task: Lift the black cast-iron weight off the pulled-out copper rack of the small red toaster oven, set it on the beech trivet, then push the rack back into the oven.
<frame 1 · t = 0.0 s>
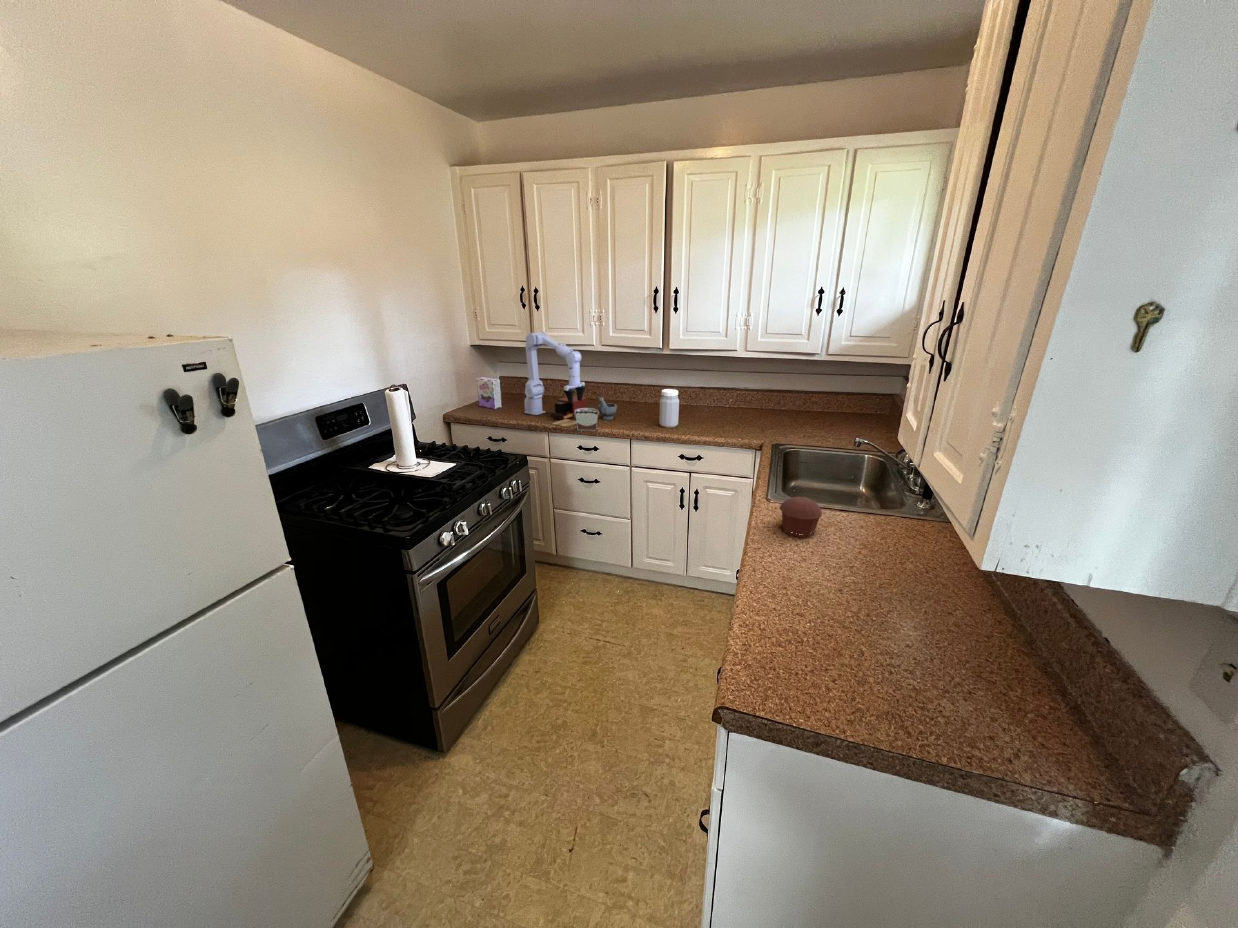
hand: (575, 401, 248), 10 cm above the worktop, tool pointing down, fingers open, 7 cm apart
black weight: (561, 415, 255), point 2 cm above the worktop, touching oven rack
toaster oven: (572, 414, 263), on the worktop
mortar and pestle: (606, 418, 256), on the worktop
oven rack: (562, 413, 256), point 2 cm above the worktop, slide at 7.0 cm, touching black weight
candy box: (490, 407, 279), on the worktop
trivet: (565, 423, 247), on the worktop
muffin: (797, 530, 142), on the worktop
jar: (668, 425, 244), on the worktop
food container: (588, 429, 238), on the worktop
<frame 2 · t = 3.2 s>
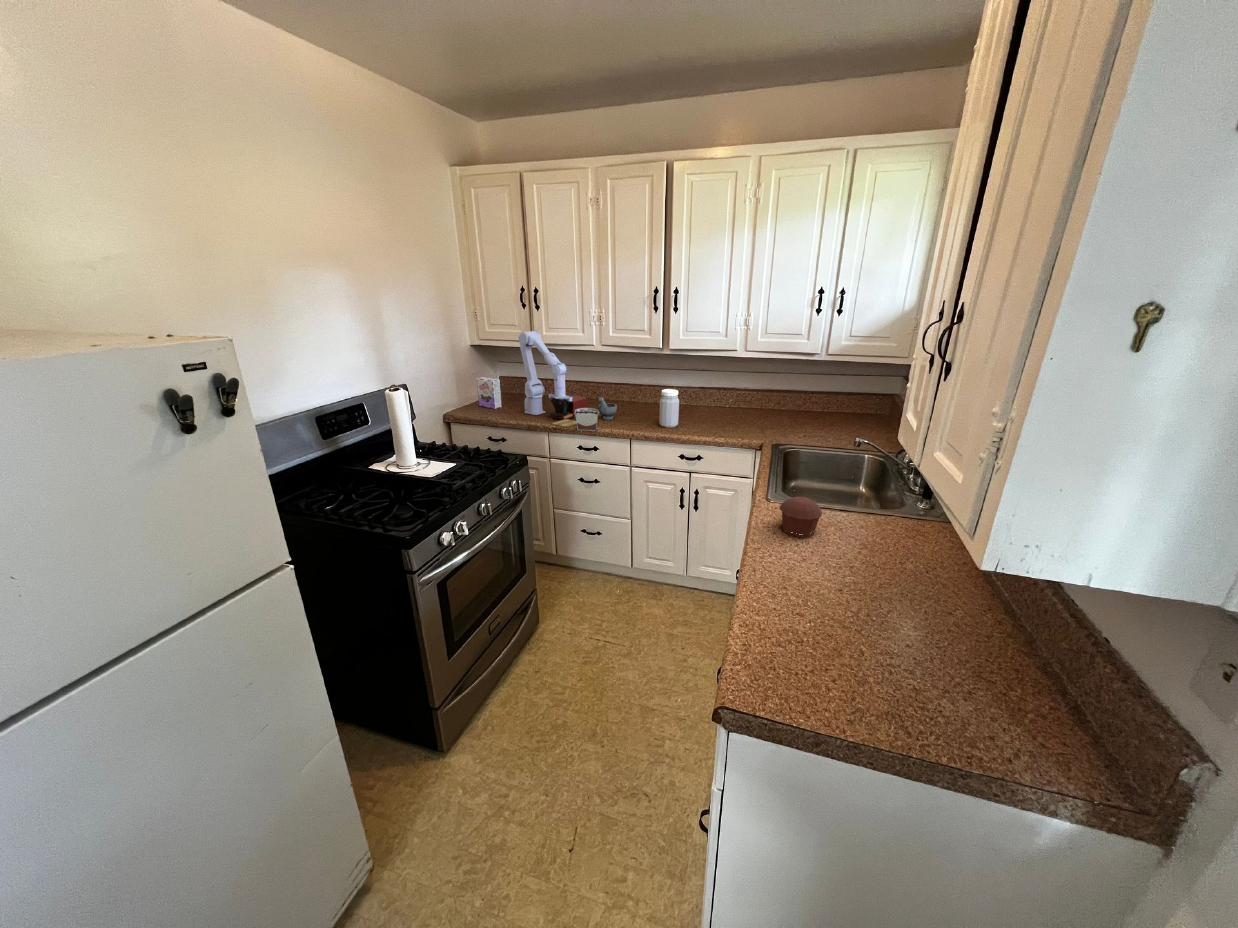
hand: (561, 412, 254), 3 cm above the worktop, tool pointing down, fingers closed on black weight, 4 cm apart
black weight: (561, 415, 255), point 2 cm above the worktop, touching gripper, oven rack
everything else where it was.
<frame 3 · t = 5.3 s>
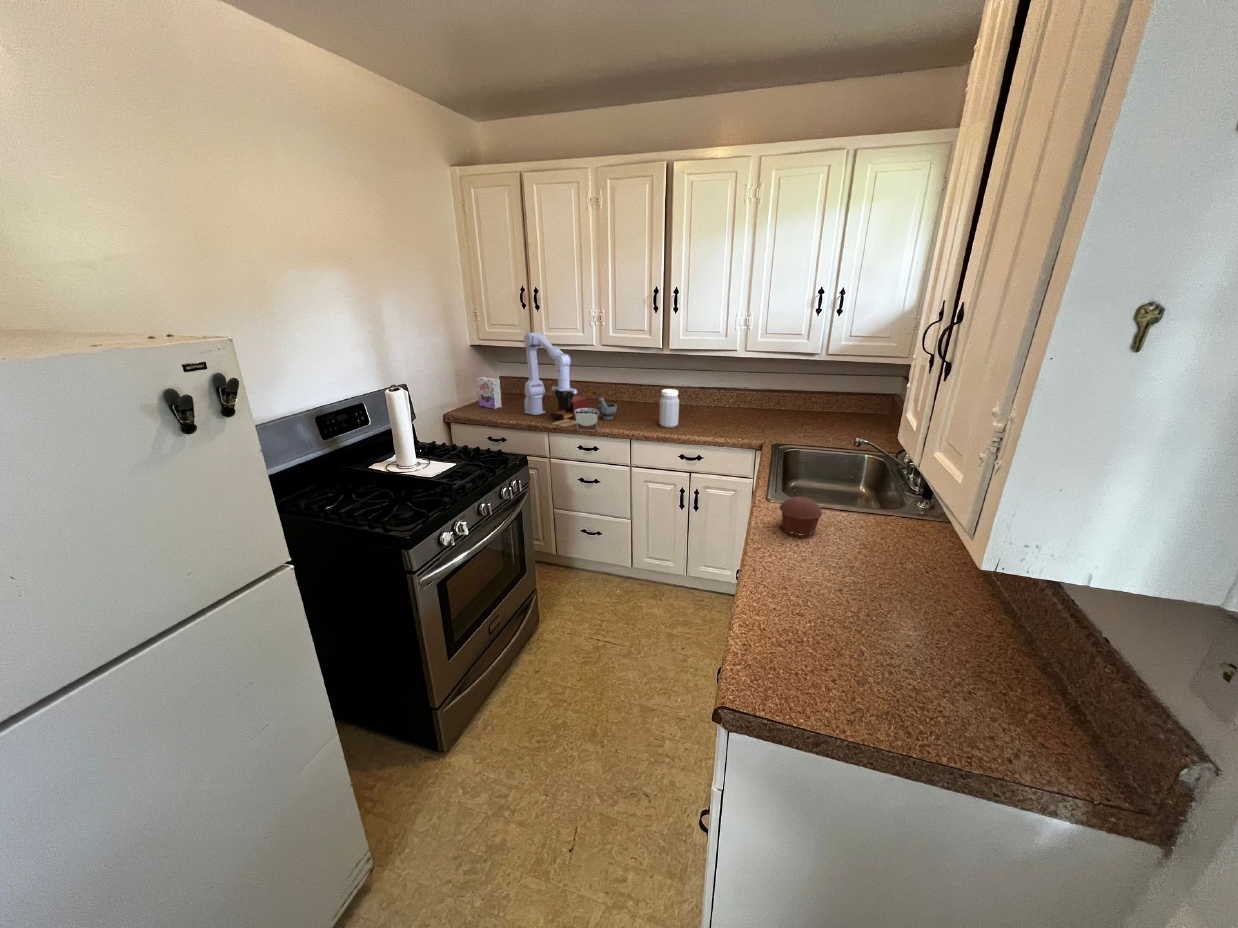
hand: (564, 405, 244), 9 cm above the worktop, tool pointing down, fingers closed on black weight, 4 cm apart
black weight: (565, 408, 244), point 8 cm above the worktop, touching gripper
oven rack: (562, 413, 256), point 2 cm above the worktop, slide at 7.0 cm
everything else where it was.
when the fingers open (2 cm above the worktop, at t = 7.4 s): black weight stays where it is, resting on trivet.
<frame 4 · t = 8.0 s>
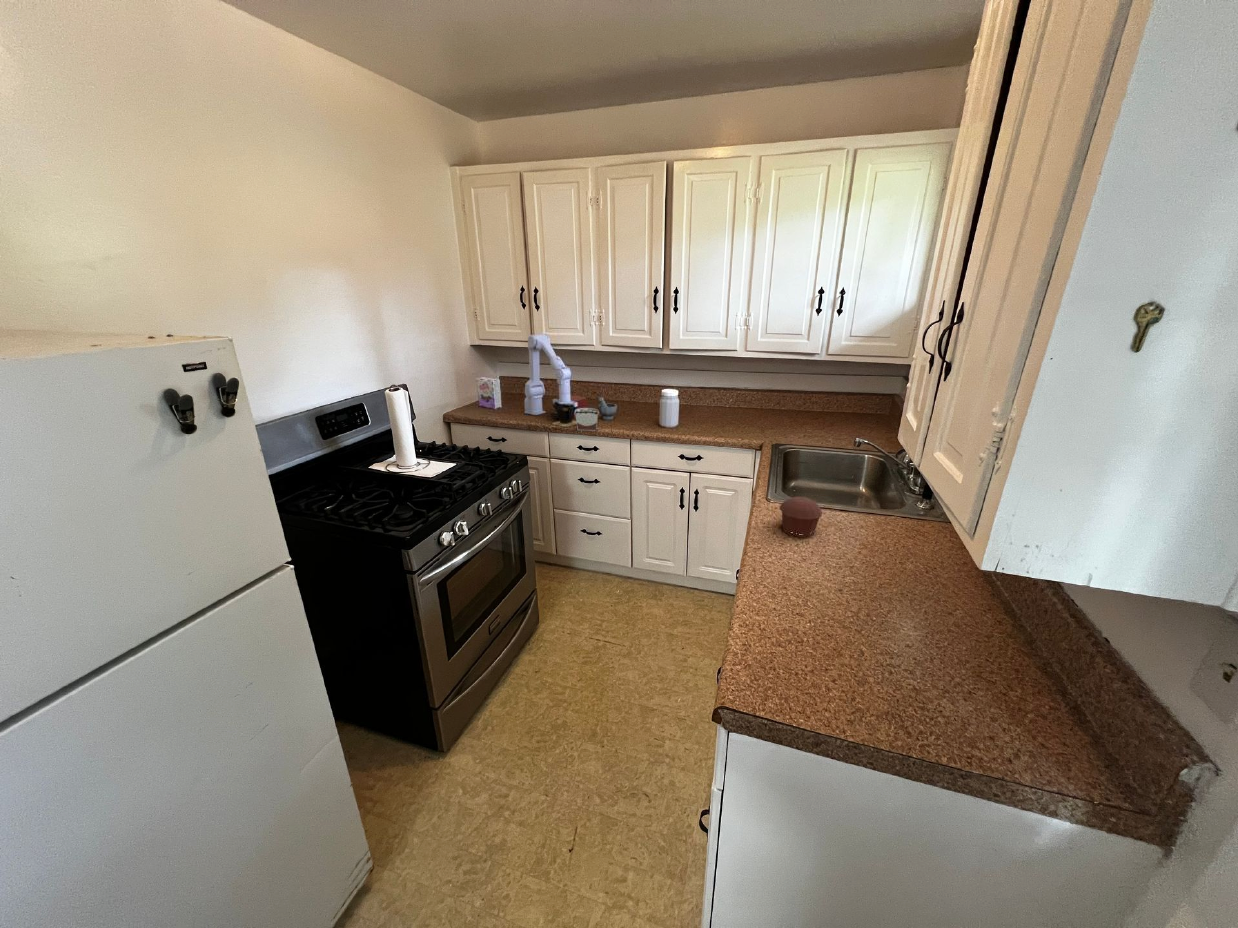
hand: (565, 418, 246), 3 cm above the worktop, tool pointing down, fingers open, 7 cm apart
black weight: (565, 422, 246), point 1 cm above the worktop, touching trivet
everything else where it was.
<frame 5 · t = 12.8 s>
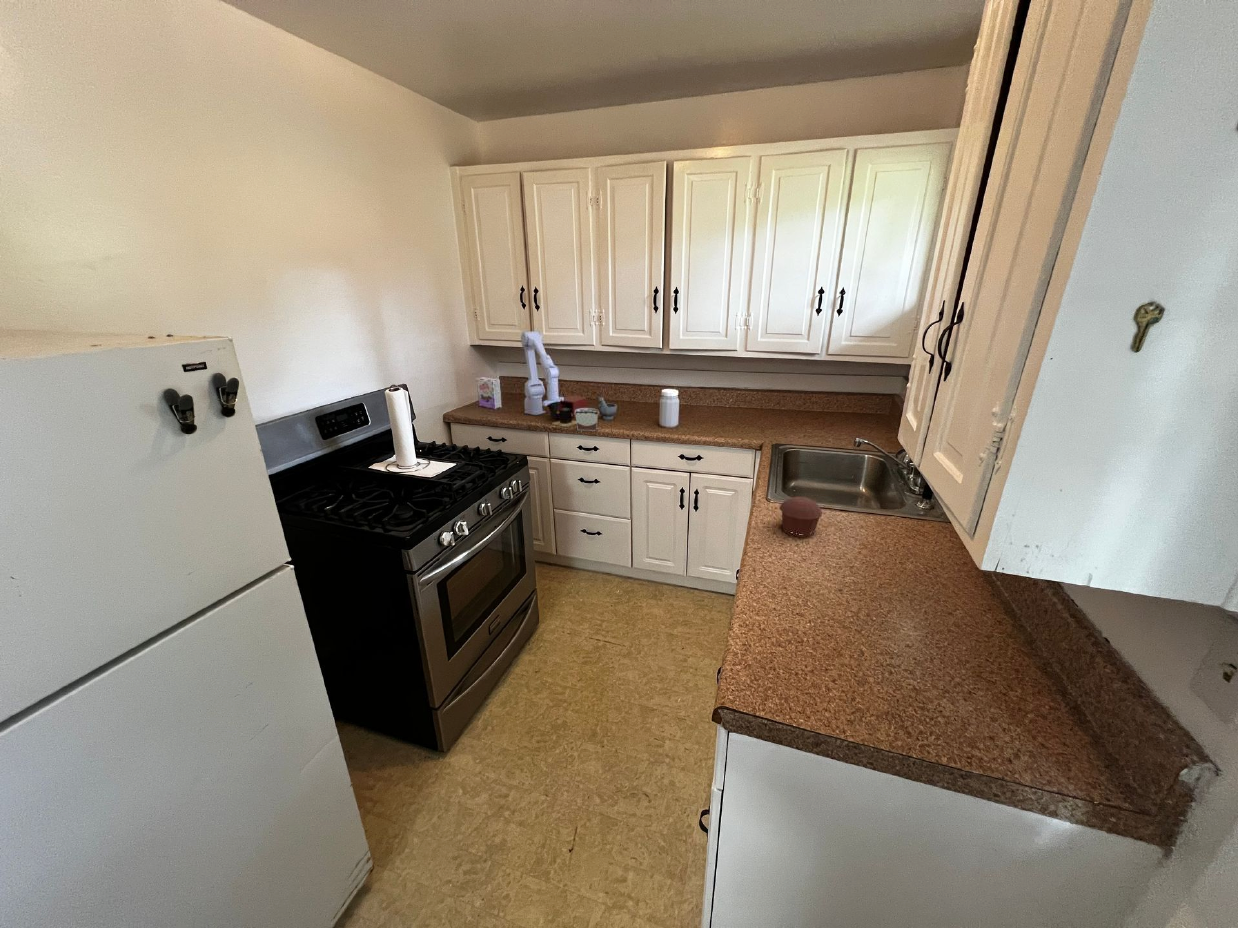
hand: (553, 416, 250), 2 cm above the worktop, tool pointing down, fingers closed
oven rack: (562, 413, 256), point 2 cm above the worktop, slide at 7.0 cm, touching gripper
everything else where it was.
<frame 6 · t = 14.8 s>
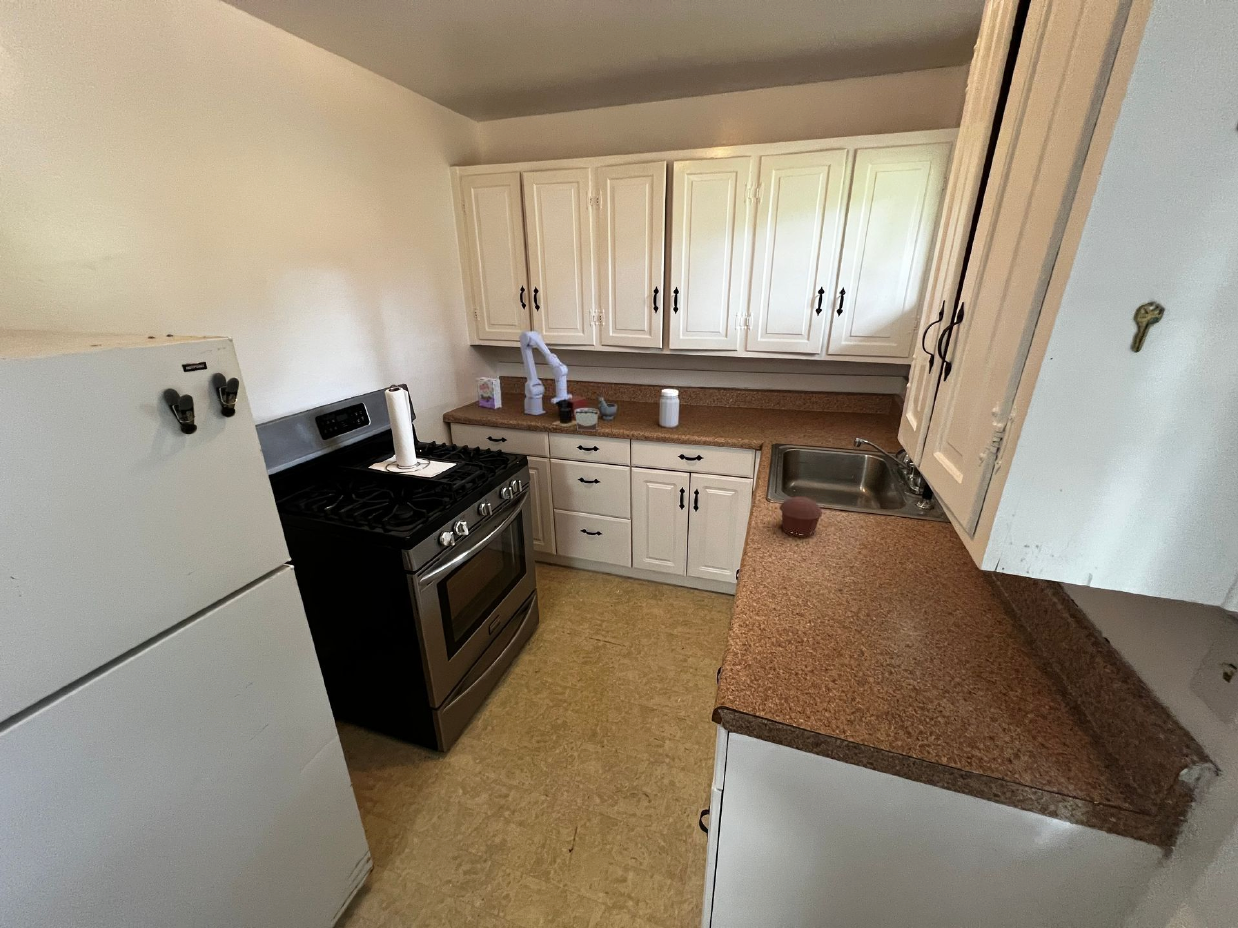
hand: (562, 413, 255), 2 cm above the worktop, tool pointing down, fingers closed
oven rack: (570, 410, 261), point 2 cm above the worktop, slide at 0.2 cm, touching gripper
everything else where it was.
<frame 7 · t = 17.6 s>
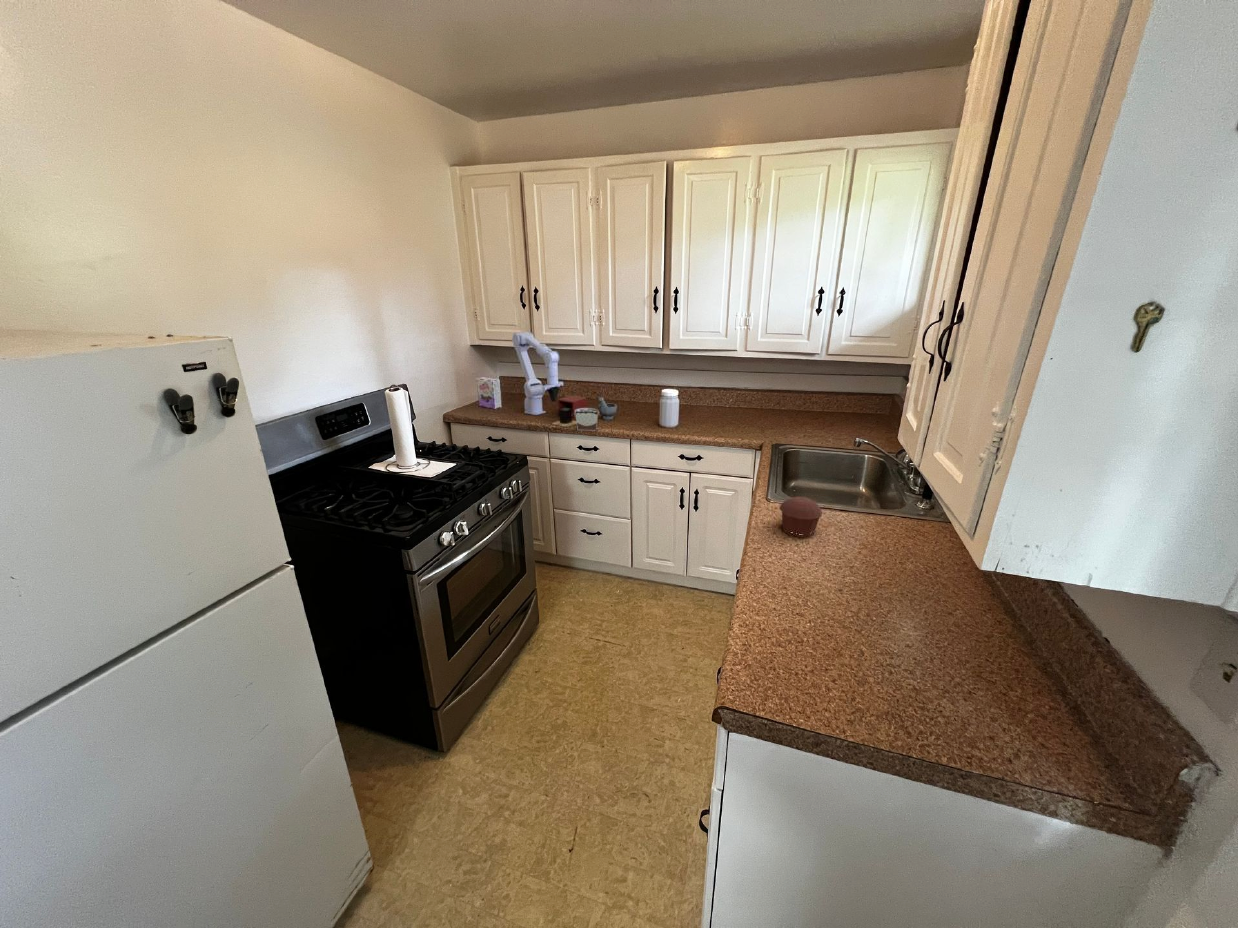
hand: (553, 401, 252), 9 cm above the worktop, tool pointing down, fingers closed
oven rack: (570, 410, 261), point 2 cm above the worktop, slide at 0.2 cm
everything else where it was.
at the end: black weight inside the target area (0.0 cm from its centre), point 0.6 cm above the worktop; black weight tilted 0°; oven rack slide at 0.2 cm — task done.
